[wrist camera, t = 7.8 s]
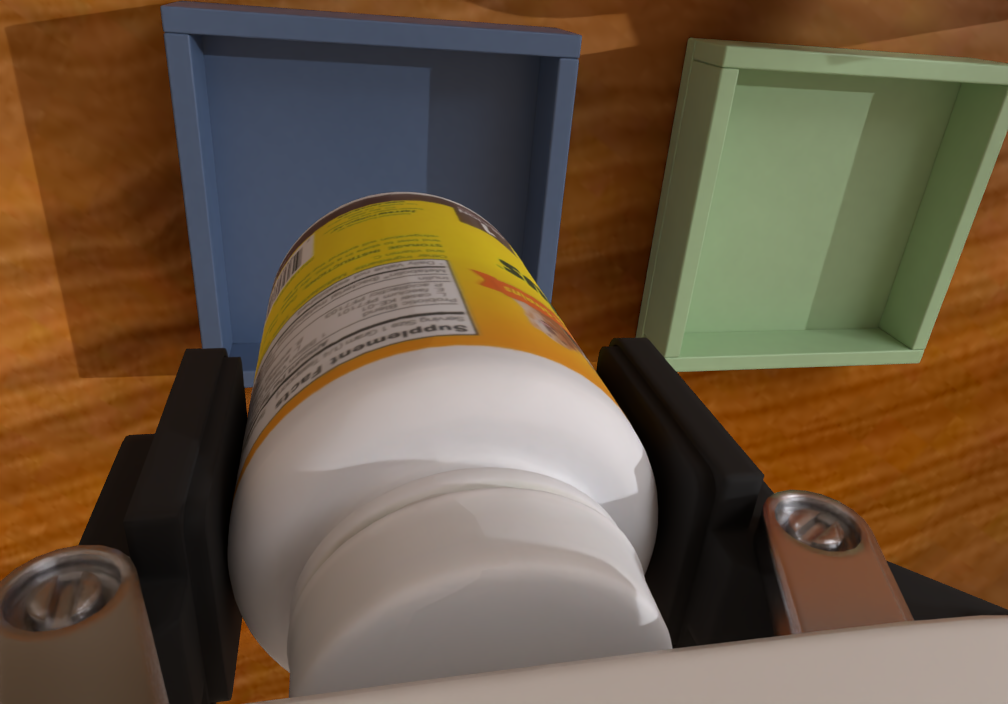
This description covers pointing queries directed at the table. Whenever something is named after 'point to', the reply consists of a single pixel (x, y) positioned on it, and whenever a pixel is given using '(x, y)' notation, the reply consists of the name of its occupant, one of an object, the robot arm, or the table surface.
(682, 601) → the robot arm
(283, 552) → the supplement bottle
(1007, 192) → the table surface
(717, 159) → the green tray
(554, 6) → the table surface
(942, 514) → the table surface
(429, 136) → the slate tray
